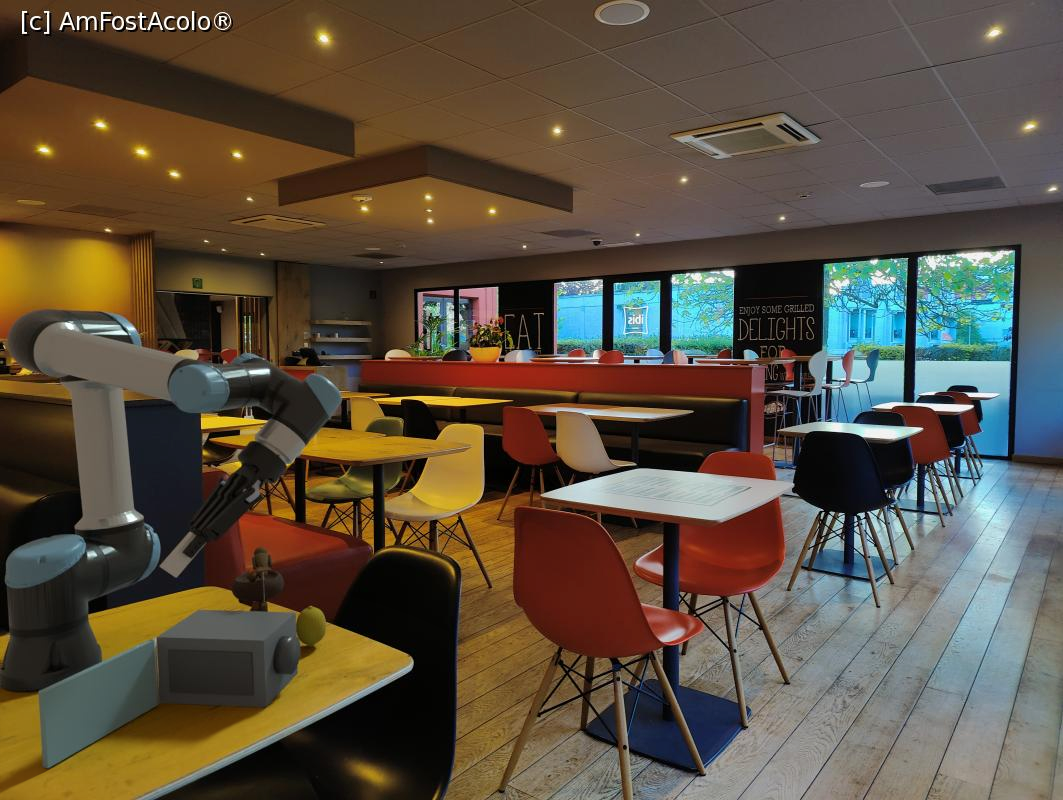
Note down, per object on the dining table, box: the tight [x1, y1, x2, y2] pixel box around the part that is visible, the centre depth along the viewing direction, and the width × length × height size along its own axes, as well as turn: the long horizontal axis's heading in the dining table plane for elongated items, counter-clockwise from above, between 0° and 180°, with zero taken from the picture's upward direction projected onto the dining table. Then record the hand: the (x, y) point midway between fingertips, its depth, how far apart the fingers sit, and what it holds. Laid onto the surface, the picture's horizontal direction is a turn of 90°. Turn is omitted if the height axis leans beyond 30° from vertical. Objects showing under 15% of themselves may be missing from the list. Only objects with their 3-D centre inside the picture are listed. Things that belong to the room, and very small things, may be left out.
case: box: [156, 609, 301, 708], centre depth 119 cm, size 20×12×11 cm, turn 85°
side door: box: [37, 637, 160, 769], centre depth 105 cm, size 19×2×11 cm, turn 161°
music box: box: [231, 546, 285, 612], centre depth 135 cm, size 15×11×20 cm
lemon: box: [296, 605, 327, 648], centre depth 136 cm, size 6×6×8 cm
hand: (167, 572), depth 108 cm, fingers closed
